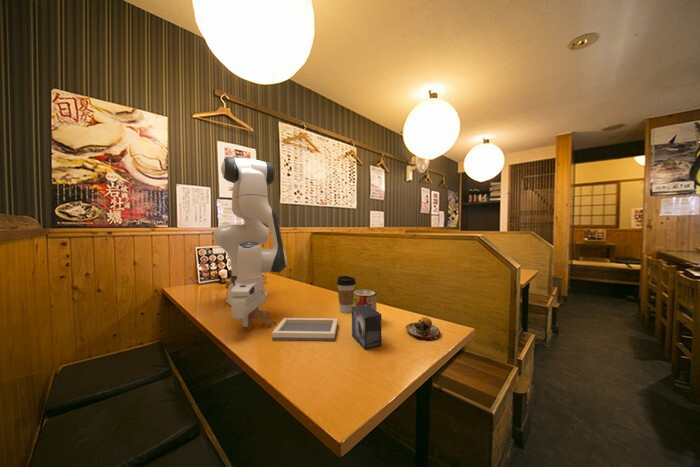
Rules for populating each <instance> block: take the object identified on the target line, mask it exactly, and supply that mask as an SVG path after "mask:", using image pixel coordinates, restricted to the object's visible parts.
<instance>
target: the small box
mask: <svg viewBox="0 0 700 467" xmlns="http://www.w3.org/2000/svg"><path fill="white" fill-rule="evenodd" d="M351 337H352V338H354V340H355V341H357V343H358V344H359V345H360V346H361V347H362V348H363V350H364V351H365V350H366V351H367V350H370V349H371V350H372V349H375V348H379V347H382V345H383V344H382V314H381V313H380V312H379V311H377V309H376V310H374V309H373V308H371V307H370V306H368V305H367V304H366V305H361V306H355V307H354V306H353V307H352V312H351Z"/></svg>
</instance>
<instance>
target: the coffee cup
mask: <svg viewBox="0 0 700 467" xmlns="http://www.w3.org/2000/svg"><path fill="white" fill-rule="evenodd" d="M336 284H337V287H338V288H337V294H338V295H337V296H338V303H339V304H338V305H339V311H340V313H344V314H352V307H354V304H353V292H354V291H356V288H355V286H356V284H357V283H356V278H355V277H351V276H348V275H342V276H341V275H340V276H338V277H337V282H336Z"/></svg>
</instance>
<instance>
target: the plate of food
mask: <svg viewBox="0 0 700 467" xmlns="http://www.w3.org/2000/svg"><path fill="white" fill-rule="evenodd" d="M405 330H406V331H407V332H408V333H409V334H411V335H413V336H415V337H418V338H419V339H420V341H424V342H426V341H427V342H428V338H429V340H431V341H435V340H437V339H438V338H440V337H441V331H440V329H439V327H437V326H436V325H433V322H432V320H431V319H430V318H429V317H426V316H422V317H421V318H420V319H418V321H417V322H410V323H409V324H406V326H405Z"/></svg>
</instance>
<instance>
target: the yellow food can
mask: <svg viewBox="0 0 700 467" xmlns="http://www.w3.org/2000/svg"><path fill="white" fill-rule="evenodd" d="M353 304H354V305H353V307H355V306H361V305H366V304H367V305H368V306H370V307H371V308H373V309H374V310H376V311H377V292H376V291H375V290H372V289H358V290H357V289H356V290H355V291H354V292H353Z"/></svg>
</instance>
